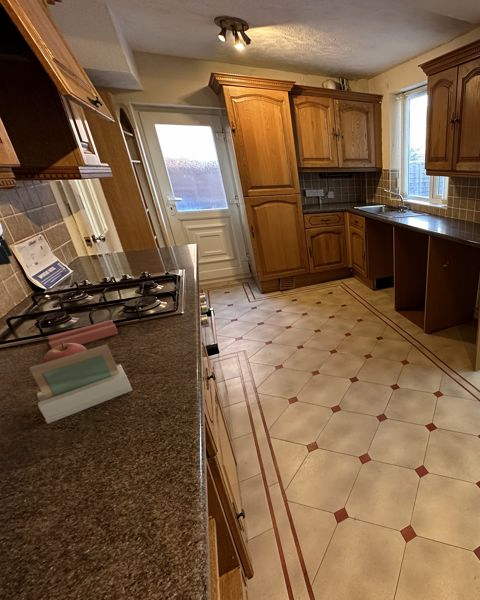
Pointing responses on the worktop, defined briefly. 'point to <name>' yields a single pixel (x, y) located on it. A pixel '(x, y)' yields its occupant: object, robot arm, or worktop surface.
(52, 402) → the holder
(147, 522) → the worktop surface
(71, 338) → the stand
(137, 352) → the worktop surface
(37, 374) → the frame
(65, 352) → the apple
